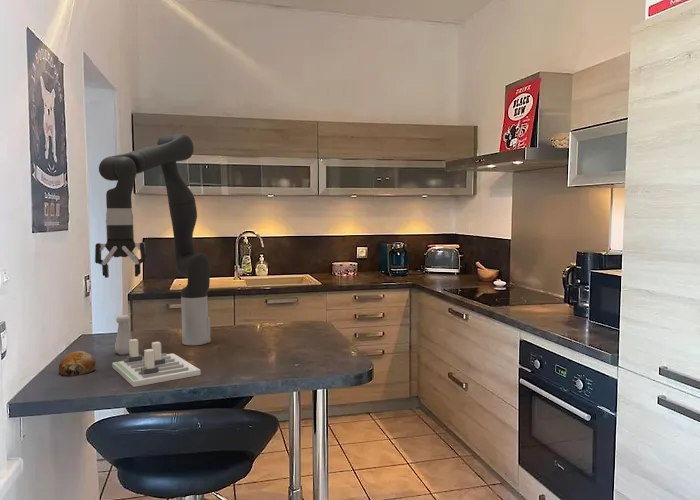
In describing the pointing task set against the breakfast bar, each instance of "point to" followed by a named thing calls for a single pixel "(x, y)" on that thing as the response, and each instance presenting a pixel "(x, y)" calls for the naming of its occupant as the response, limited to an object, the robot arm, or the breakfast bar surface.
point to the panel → (166, 372)
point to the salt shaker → (123, 335)
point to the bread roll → (77, 364)
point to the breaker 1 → (133, 351)
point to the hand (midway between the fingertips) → (121, 276)
